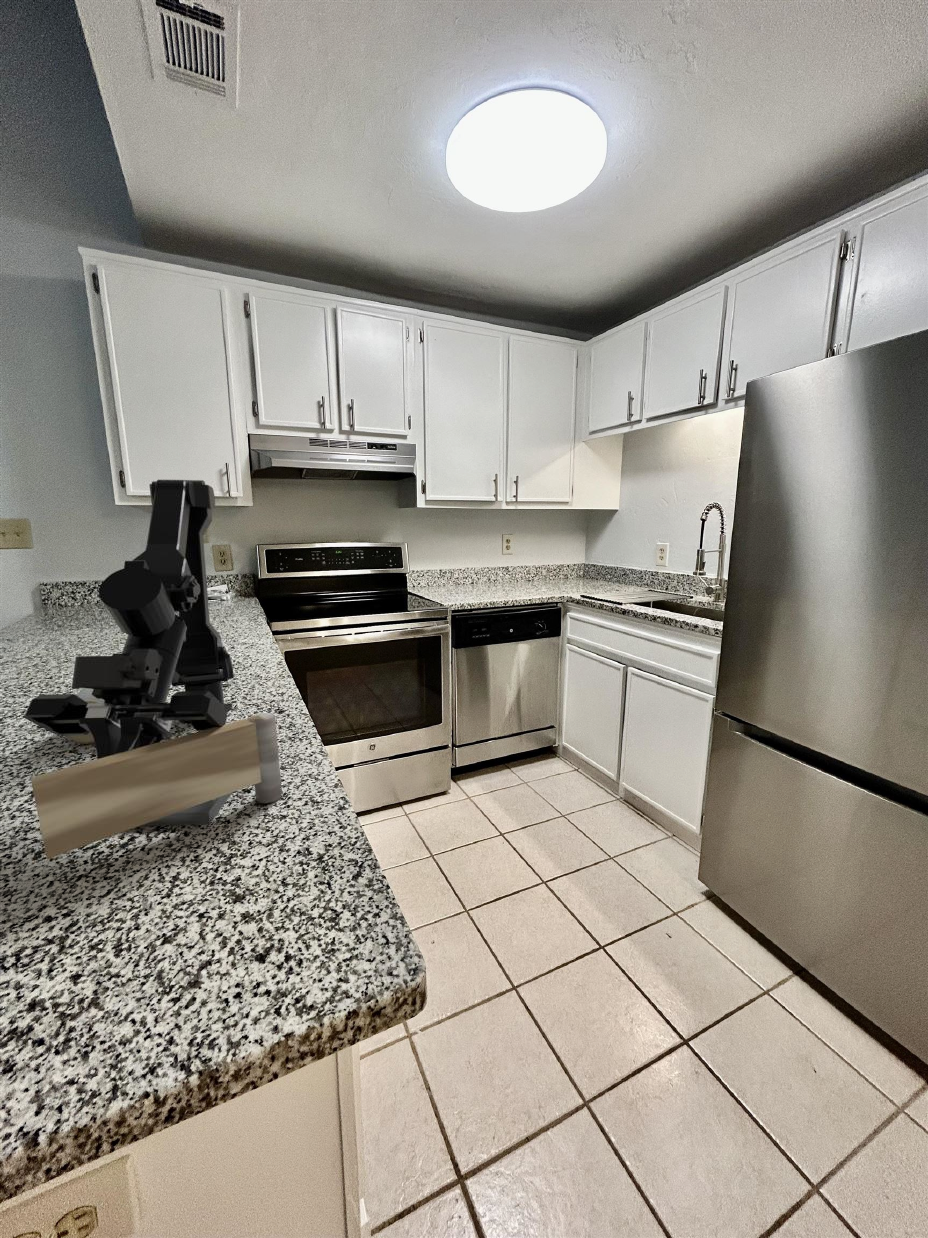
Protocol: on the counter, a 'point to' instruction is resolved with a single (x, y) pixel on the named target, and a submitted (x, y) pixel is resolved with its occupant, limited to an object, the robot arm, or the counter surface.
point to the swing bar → (156, 782)
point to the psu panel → (193, 814)
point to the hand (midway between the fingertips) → (106, 793)
